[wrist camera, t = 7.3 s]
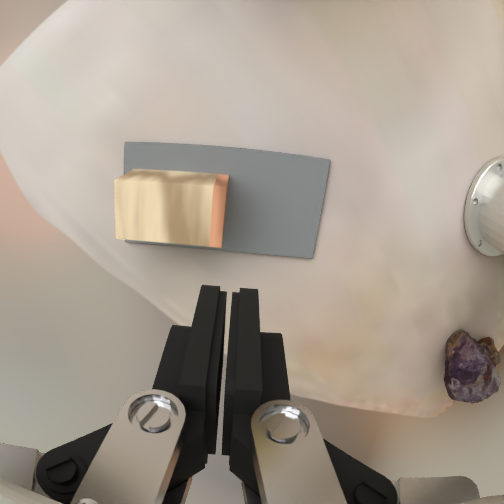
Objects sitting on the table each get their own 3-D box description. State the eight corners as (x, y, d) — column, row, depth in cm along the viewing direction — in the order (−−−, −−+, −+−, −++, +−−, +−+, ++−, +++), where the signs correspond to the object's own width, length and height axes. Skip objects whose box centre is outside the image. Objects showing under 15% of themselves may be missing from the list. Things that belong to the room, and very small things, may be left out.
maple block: (226, 187, 24) (114, 180, 24) (221, 247, 26) (116, 238, 26) (229, 175, 29) (133, 168, 28) (224, 226, 31) (133, 219, 30)
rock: (460, 312, 39) (418, 363, 42) (487, 344, 31) (436, 400, 34) (497, 341, 40) (458, 385, 43) (521, 371, 32) (477, 418, 35)
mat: (328, 159, 29) (330, 160, 29) (311, 256, 33) (312, 258, 33) (125, 141, 28) (124, 142, 27) (126, 240, 32) (124, 241, 31)
